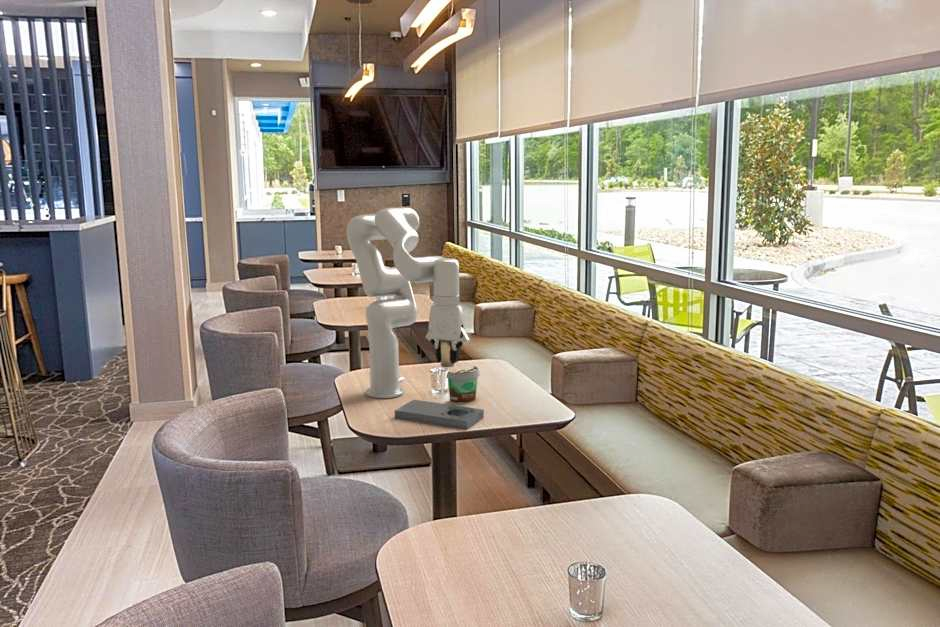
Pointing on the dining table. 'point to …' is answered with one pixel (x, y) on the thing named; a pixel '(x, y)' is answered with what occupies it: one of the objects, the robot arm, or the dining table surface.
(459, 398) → the food container
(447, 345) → the brass sleeve
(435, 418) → the jig plate
